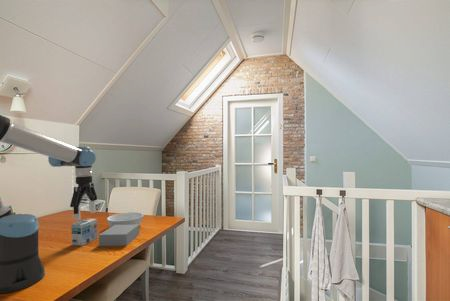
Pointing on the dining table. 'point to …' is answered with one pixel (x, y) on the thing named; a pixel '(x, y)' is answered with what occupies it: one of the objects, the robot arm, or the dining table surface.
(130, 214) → the serving bowl
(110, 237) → the grey block
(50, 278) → the dining table surface
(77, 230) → the light bulb box
